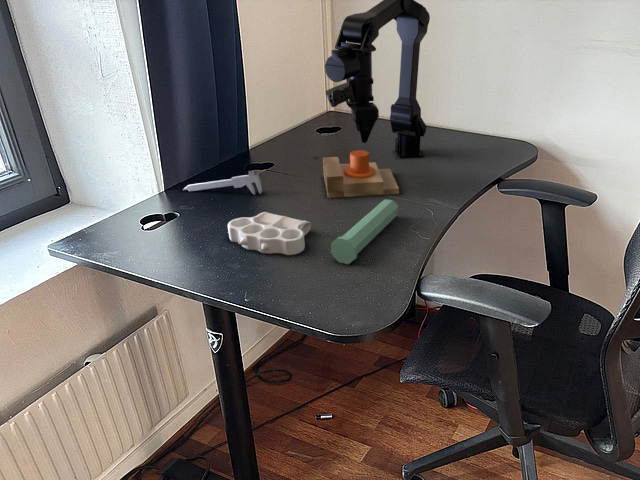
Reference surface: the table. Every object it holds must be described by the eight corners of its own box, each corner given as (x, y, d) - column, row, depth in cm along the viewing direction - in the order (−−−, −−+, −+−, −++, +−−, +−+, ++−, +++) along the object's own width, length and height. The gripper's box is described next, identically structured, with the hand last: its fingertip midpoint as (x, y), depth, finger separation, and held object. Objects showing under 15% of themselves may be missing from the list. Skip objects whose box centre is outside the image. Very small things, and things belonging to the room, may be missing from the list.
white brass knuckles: (324, 234, 135) (287, 263, 124) (256, 218, 142) (215, 245, 130) (323, 220, 134) (286, 248, 122) (254, 205, 140) (213, 231, 128)
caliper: (262, 193, 154) (260, 169, 151) (261, 195, 153) (258, 171, 150) (184, 189, 156) (179, 165, 152) (182, 191, 155) (178, 167, 151)
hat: (373, 166, 162) (372, 147, 159) (377, 177, 155) (377, 157, 152) (342, 167, 160) (342, 148, 158) (346, 179, 154) (345, 159, 151)
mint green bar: (385, 190, 141) (335, 232, 122) (406, 203, 141) (360, 247, 121) (376, 210, 145) (326, 254, 125) (397, 223, 144) (350, 269, 125)
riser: (390, 173, 167) (390, 154, 164) (399, 193, 155) (399, 173, 152) (323, 177, 164) (322, 157, 161) (327, 197, 152) (326, 176, 149)
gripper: (323, 65, 154) (327, 127, 163) (330, 84, 139) (333, 150, 148) (367, 64, 156) (368, 124, 165) (378, 82, 141) (379, 148, 149)
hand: (361, 136), depth 157 cm, fingers open, 9 cm apart
